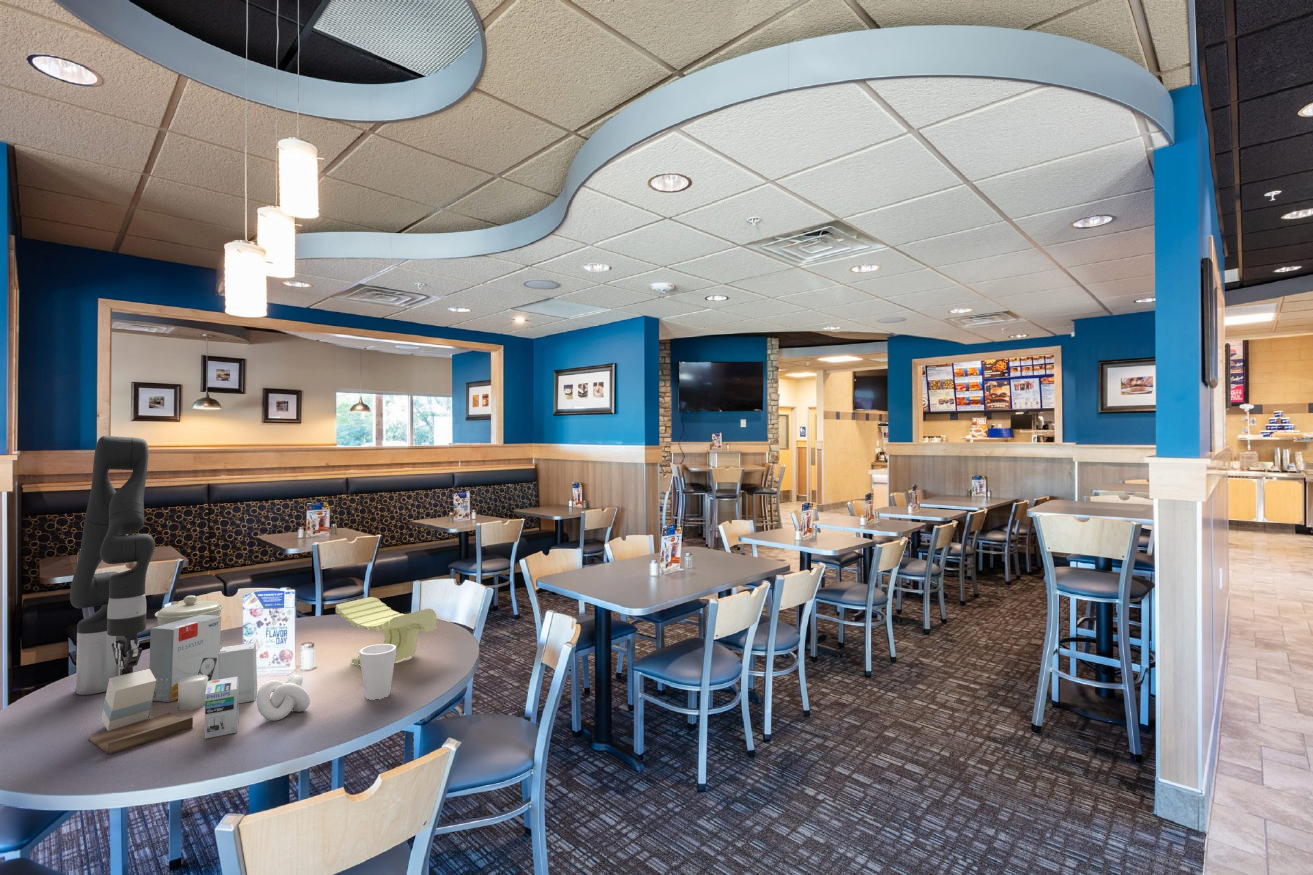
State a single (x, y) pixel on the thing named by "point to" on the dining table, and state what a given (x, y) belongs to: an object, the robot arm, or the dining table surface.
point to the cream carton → (128, 699)
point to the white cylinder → (192, 692)
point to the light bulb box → (221, 707)
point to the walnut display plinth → (140, 732)
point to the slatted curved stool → (388, 623)
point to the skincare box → (240, 668)
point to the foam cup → (377, 669)
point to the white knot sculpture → (282, 698)
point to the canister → (188, 610)
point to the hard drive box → (184, 653)
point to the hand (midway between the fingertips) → (126, 682)
